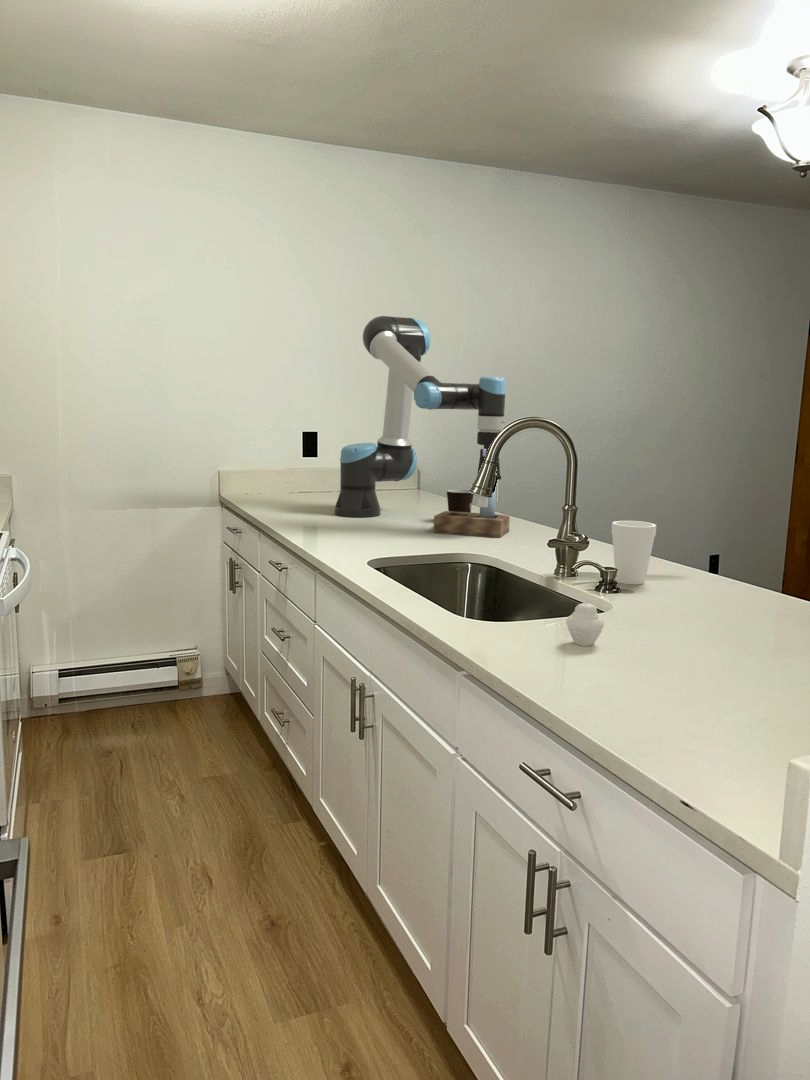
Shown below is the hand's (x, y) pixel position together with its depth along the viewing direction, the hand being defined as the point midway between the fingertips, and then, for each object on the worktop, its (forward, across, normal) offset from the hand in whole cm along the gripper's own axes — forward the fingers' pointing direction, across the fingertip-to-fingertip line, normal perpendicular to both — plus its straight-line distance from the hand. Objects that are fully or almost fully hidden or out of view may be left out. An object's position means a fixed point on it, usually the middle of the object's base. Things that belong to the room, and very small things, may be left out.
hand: (487, 504), depth 249 cm
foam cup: (+9, -50, -44) cm, 68 cm away
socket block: (+9, 0, +4) cm, 10 cm away
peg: (+8, 0, 0) cm, 8 cm away
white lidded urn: (+9, -103, -40) cm, 111 cm away
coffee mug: (+9, +19, +12) cm, 24 cm away
